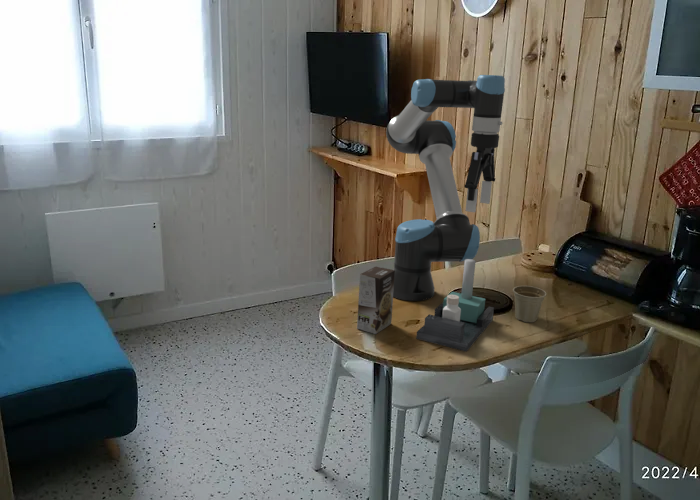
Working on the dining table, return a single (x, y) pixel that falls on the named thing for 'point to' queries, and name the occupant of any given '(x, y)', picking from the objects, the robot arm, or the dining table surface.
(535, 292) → the flower pot
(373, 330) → the coffee box
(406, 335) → the dining table surface
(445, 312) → the pepper shaker
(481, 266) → the dining table surface
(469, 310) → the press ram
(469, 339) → the tray
